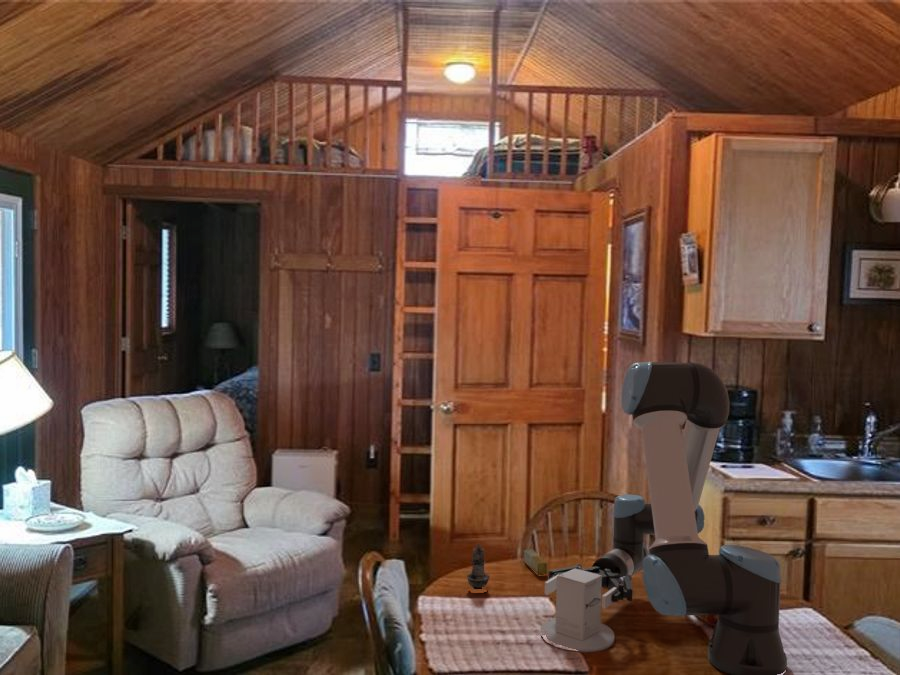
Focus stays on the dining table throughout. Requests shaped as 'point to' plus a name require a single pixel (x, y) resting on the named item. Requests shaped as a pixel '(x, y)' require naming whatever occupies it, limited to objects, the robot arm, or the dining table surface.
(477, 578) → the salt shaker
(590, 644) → the plate
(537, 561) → the medication box
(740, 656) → the robot arm
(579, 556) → the dining table surface
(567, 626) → the supplement box
